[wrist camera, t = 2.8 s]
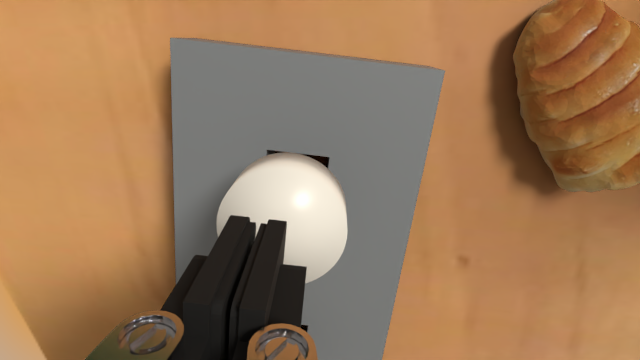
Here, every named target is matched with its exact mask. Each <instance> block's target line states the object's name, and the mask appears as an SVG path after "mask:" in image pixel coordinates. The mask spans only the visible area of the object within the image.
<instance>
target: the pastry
mask: <svg viewBox="0 0 640 360" xmlns="http://www.w3.org/2000/svg"><path fill="white" fill-rule="evenodd" d="M513 61H514V64H515V67H516V69H515V74H516V77H517V80H518V87H517V95H518V97H519V100H520V115H521V117H522V118H523V119H524V122H525V127H526V131H527V134H528V136H529V138H530V139H531V140H532V141H533V142H535V143H536V144H537V146H538V149H539V151H540V153H541V155H542V158H543V159H544V161H545V163H546V164H547V165H548V166H549V167H550V169H551V170H552V172H553V175H554V178H555V181H556V183H557V184H558V186H559V187H560V188H562V189H564V190H566V191H571V192H577V191H587V192H595V191H600V190H603V189H609V190H619V189H625V188H629V187H631V186H634V185H636V184H638V183H640V28H639V27H638V26H637V25H636V24H635V23H634V22H631V21H627V20H625V19H624V18H623V17H621V16H619V15H618V14H617V13H616V12H615V11H613V10H612V9H610V8H609V7H608V6H607V5H606V4H605V2H603V1H601V0H553V1H551V2H550V3H548V4H546V5H545V6H543V7H542V8H540V9H539V10H538V11H537V12H536V13H535V14H533V16H532V17H531V18H530V20H529V21H528V23H527V24H526V26H525V28H524V29H523V31H522V33H521V35H520V37H519V40H518V42H517V45H516V49H515V51H514V54H513Z"/></svg>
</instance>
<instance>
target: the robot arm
mask: <svg viewBox="0 0 640 360" xmlns="http://www.w3.org/2000/svg"><path fill="white" fill-rule="evenodd" d="M286 229H287V221H280V220H271V219H269V220H268V223H267V224H265V223H261V224H260V227H259V230H258V233H257V235H256V222H250V218H249V217H244V216H235V215H230V217H229V219H228V220H227V222H226V224H225V226H224V228H223V230H222V231H221V233H220V235H219V237H218V239H217V240H216V242H215V244H214V246H213V248H212V250H211V251H210V253H209V255H208V256H204V255H195V256H194V257H193V258H192V260H191V261H190V263H189V265H188V266H187V268H186V270H185V271H184V273H183V274H182V276H181V278H180V279H179V281H178V283H177V284H176V286H175V287H174V289H173V291H172V292H171V294H170V296H169V297H168V299H167V301H166V302H165V304H164V305H163V307H162V309H161V310H153V311H145V312H142V313H138V314H135V315H133V316H131V317H129V318H127V319H125V320H124V321H122V322H121V323H120V324H119V325H118V326H116V327H115V328H114V329H113V330H112V332H111V333H110V334H109V335H108V336H107V337H106V338H105V339H104V340H103V341H102V342H101V343H100V344H99V345H98V346H97V347H96V348H95V349H94V350H93V351H92V352H91V353H90V354H89V355H88V356H87V357H86V359H85V360H318V358H317V351H316V346H315V343H314V341H313V339H312V338H311V336H310V335H309V334H308V333H307V332H306V331H304V330H303V329H301V321H302V311H303V300H304V290H305V280H306V270H307V267H305V266H296V265H287V264H283V262H284V251H285V240H286ZM255 237H256V238H255Z"/></svg>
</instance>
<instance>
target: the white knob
mask: <svg viewBox="0 0 640 360" xmlns="http://www.w3.org/2000/svg"><path fill="white" fill-rule="evenodd" d="M230 215H235V216H244V217H249V218H250V222H256V235H257V233H258V230H259V227H260V224H261V223H265V224H267V223H268V220H269V219H271V220H280V221H287V229H286V240H285V251H284V262H283V264H287V265H296V266H305V267H307V270H306V280H305V283H308V282H311V281H313V280H316V279H317V278H319V277H321V276H323V275H324V274H325V273H327V272H328V271H329V270H330V269H331V268H332V267H333V266H334V265H335V264H336V263H337V261H338V260H339V258H340V257H341V255H342V253H343V250H344V248H345V245H346V241H347V232H348V230H347V214H346V200H345V195H344V192H343V189H342V187H341V185H340V183H339V181H338V180H337V178H336V177H335V176H334V174H333V173H332V172H331V171H330V170H329V169H328V168H327V167H325V166H324V165H323V164H321V163H320V162H318V161H317V160H315V159H313V158H310V157H308V156H305V155H302V154H297V153H287V152H284V153H275V154H270V155H267V156H264V157H261V158H259V159H257V160H255V161H254V162H253V163H251V164H250V165H248V166H247V167H246V168H245V169H244V170H243V171H242V173H241V174H240V175H239V176H238V178H237V179H236V181H235V182H234V183H233V185H232V186H231V188H230V189H229V190H228V192H227V193H226V195H225V197H224V198H223V200H222V202H221V204H220V207H219V210H218V214H217V222H216V225H217V234H218V237H219V235H220V233H221V231H222V230H223V228H224V226H225V224H226V222H227V220H228V219H229V217H230ZM255 238H256V237H255Z"/></svg>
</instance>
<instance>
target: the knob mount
mask: <svg viewBox="0 0 640 360" xmlns="http://www.w3.org/2000/svg"><path fill="white" fill-rule="evenodd" d="M170 51H171V94H172V137H173V180H174V223H175V266H176V284H177V283H178V281H179V279H180V278H181V276H182V274H183V273H184V271H185V270H186V268H187V266H188V265H189V263H190V261H191V260H192V258H193V257H194V256H195V255H204V256H208V255H209V253H210V251H211V250H212V248H213V246H214V244H215V242H216V240H217V239H218V234H217V225H216V222H217V214H218V210H219V207H220V204H221V202H222V200H223V198H224V197H225V195H226V193H227V192H228V190H229V189H230V188H231V186H232V185H233V183H234V182H235V181H236V179H237V178H238V176H239V175H240V174H241V173H242V171H243V170H244V169H245V168H246V167H247V166H248V165H250V164H251V163H253V162H254V161H255V160H257V159H259V158H261V157H264V156H267V155H270V154H275V151H282V152H291V153H299V154H307V155H316V156H324V157H328V165H327V168H328V169H329V170H330V171H331V172H332V173H333V174H334V176H335V177H336V178H337V180H338V181H339V183H340V185H341V187H342V189H343V192H344V195H345V200H346V214H347V230H348V232H347V241H346V245H345V248H344V250H343V253H342V255H341V257H340V258H339V260H338V261H337V263H336V264H335V265H334V266H333V267H332V268H331V269H330V270H329V271H328V272H327V273H325V274H324V275H323V276H321V277H319V278H317V279H316V280H313V281H311V282H308V283H305V290H304V300H303V311H302V321H301V325H307V330H305V329H303V330H304V331H306V332H307V333H308V334H309V335H310V336H311V338H312V339H313V341H314V343H315V346H316V351H317V358H318V360H382V356H383V352H384V347H385V343H386V338H387V334H388V329H389V324H390V320H391V315H392V311H393V306H394V302H395V297H396V292H397V288H398V283H399V279H400V274H401V270H402V265H403V260H404V256H405V251H406V247H407V242H408V238H409V233H410V228H411V224H412V219H413V215H414V210H415V206H416V201H417V197H418V192H419V187H420V183H421V178H422V174H423V169H424V165H425V160H426V155H427V151H428V146H429V142H430V137H431V133H432V128H433V123H434V119H435V114H436V110H437V105H438V101H439V96H440V91H441V87H442V82H443V78H444V73H445V71H444V70H441V69H437V68H434V67H430V66H423V65H415V64H406V63H398V62H390V61H381V60H373V59H365V58H356V57H348V56H340V55H331V54H323V53H315V52H306V51H298V50H290V49H281V48H273V47H265V46H256V45H248V44H240V43H231V42H223V41H215V40H206V39H198V38H170Z"/></svg>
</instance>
